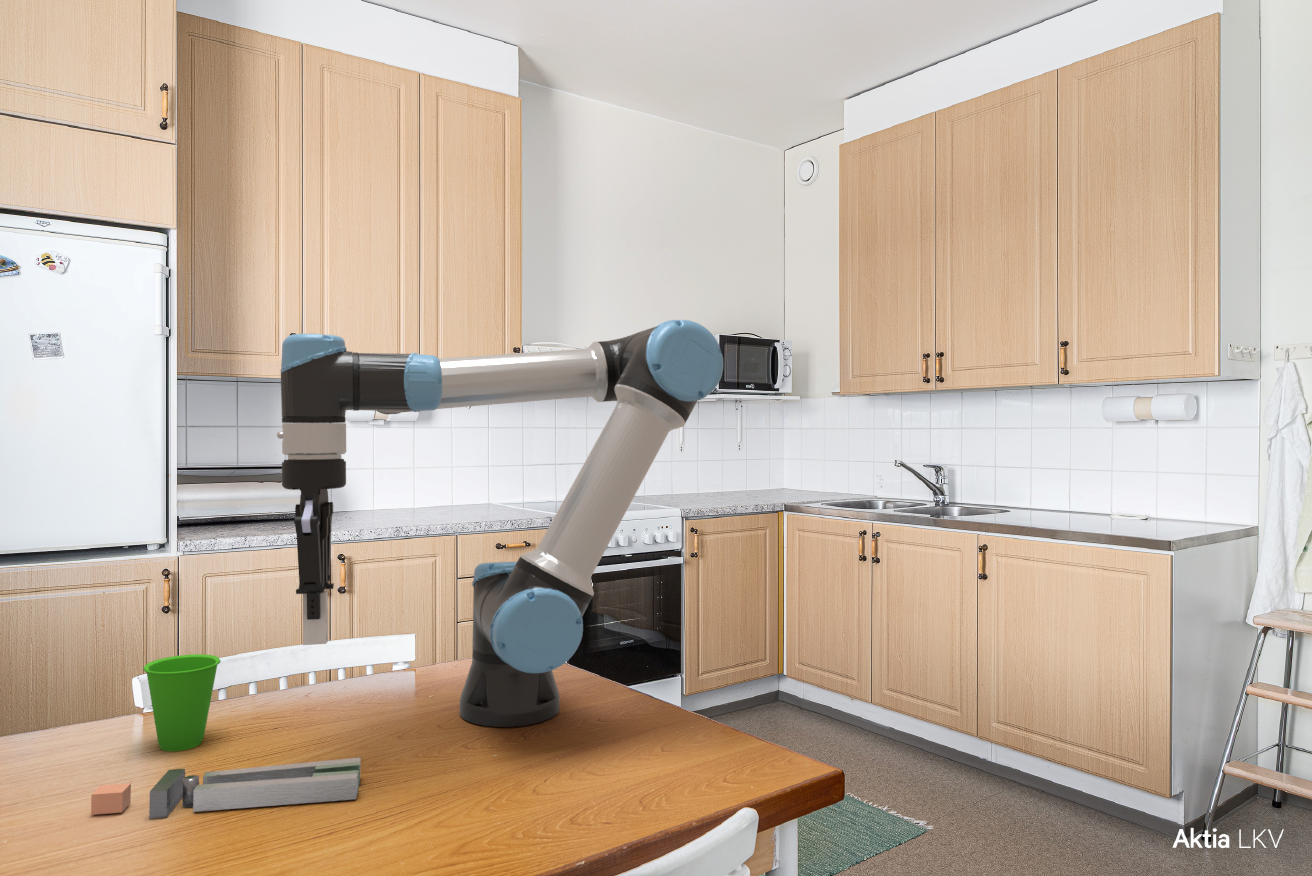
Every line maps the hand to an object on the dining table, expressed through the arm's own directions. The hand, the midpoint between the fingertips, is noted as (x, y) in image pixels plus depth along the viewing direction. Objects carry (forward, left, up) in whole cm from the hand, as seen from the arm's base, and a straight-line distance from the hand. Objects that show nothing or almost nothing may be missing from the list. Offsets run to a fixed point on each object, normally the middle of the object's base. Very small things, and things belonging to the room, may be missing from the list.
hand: (315, 642), depth 105 cm
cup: (+19, -11, -16) cm, 27 cm away
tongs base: (+4, +9, -16) cm, 19 cm away
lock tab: (+20, +9, -15) cm, 26 cm away
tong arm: (+2, +7, -15) cm, 17 cm away
